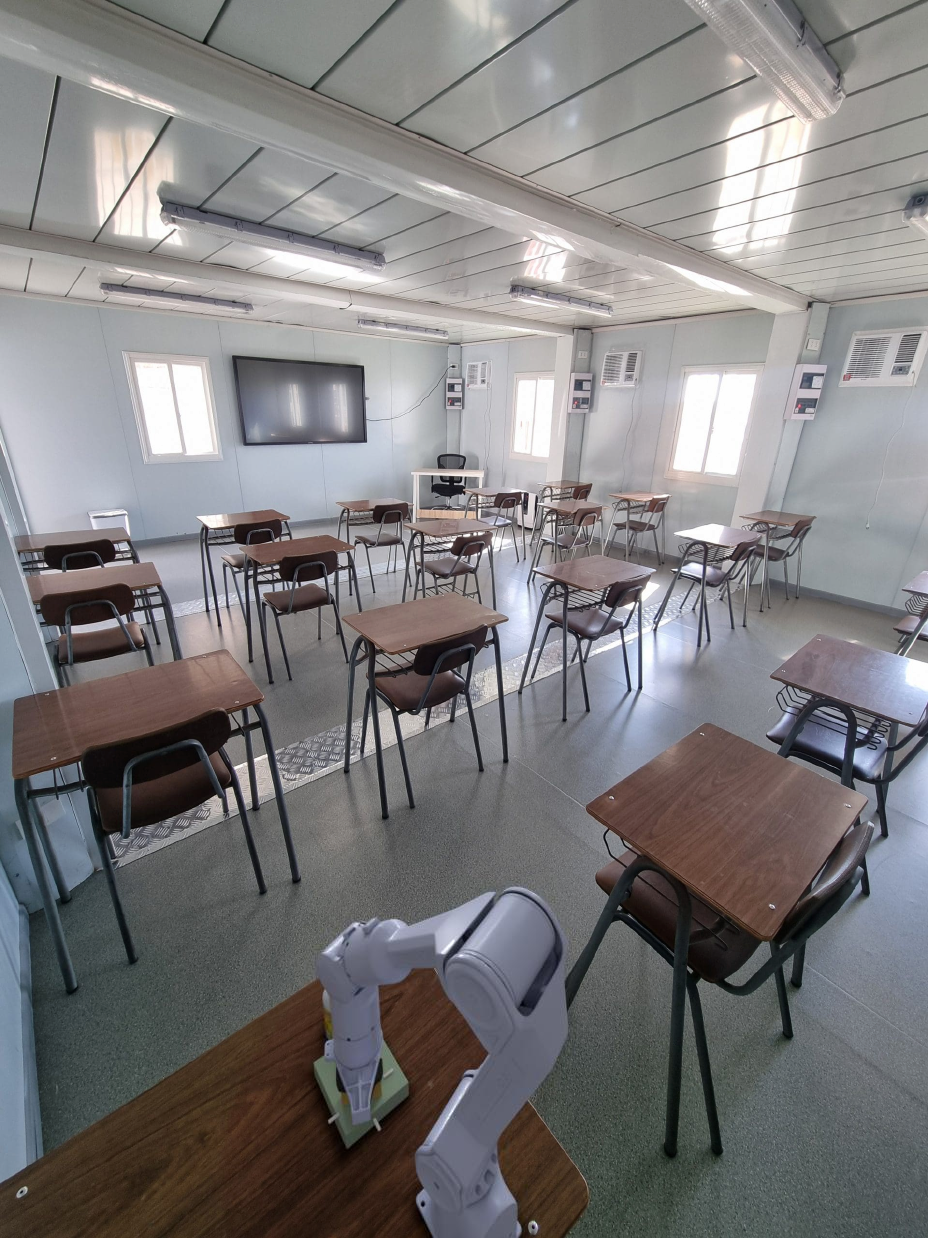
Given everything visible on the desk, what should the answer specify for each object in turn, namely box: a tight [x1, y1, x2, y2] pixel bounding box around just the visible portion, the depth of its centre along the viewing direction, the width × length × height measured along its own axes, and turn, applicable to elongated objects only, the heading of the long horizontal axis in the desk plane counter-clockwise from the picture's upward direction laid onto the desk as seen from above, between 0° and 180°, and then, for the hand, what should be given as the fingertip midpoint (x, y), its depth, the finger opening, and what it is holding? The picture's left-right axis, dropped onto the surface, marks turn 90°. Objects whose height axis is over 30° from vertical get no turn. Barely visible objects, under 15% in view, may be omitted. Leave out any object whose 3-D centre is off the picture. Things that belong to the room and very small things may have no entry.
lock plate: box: [312, 1039, 410, 1149], centre depth 67 cm, size 12×10×3 cm
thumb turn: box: [341, 1081, 382, 1106], centre depth 64 cm, size 5×1×4 cm, turn 103°
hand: (361, 1093), depth 65 cm, fingers closed on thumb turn
